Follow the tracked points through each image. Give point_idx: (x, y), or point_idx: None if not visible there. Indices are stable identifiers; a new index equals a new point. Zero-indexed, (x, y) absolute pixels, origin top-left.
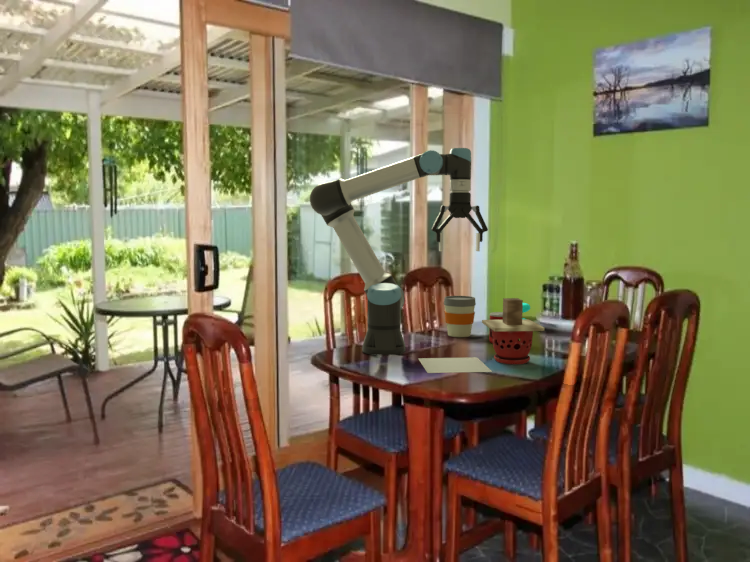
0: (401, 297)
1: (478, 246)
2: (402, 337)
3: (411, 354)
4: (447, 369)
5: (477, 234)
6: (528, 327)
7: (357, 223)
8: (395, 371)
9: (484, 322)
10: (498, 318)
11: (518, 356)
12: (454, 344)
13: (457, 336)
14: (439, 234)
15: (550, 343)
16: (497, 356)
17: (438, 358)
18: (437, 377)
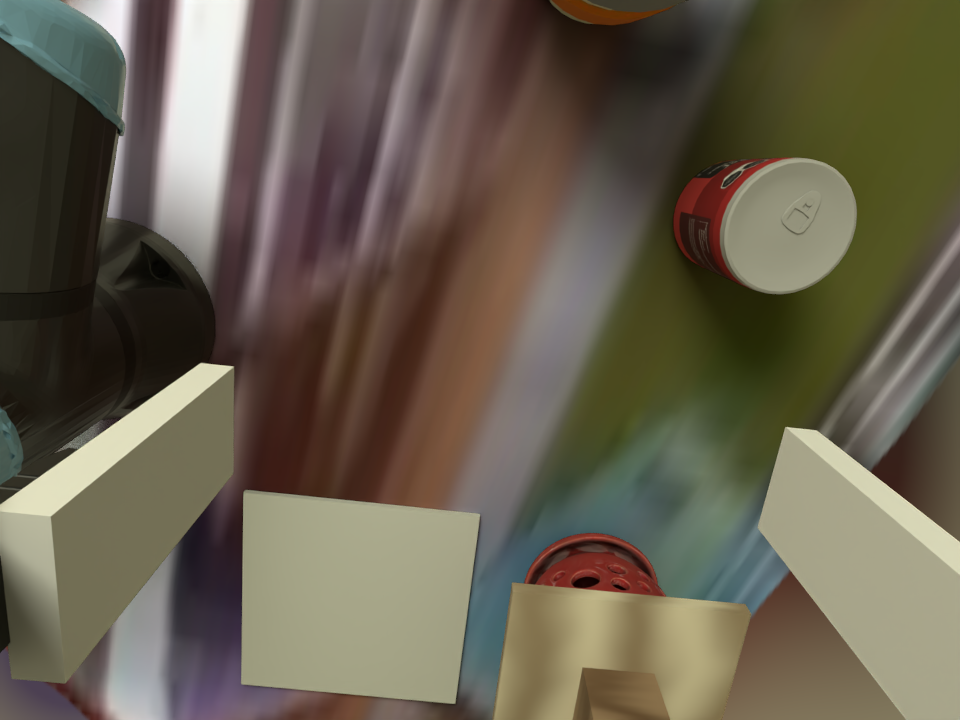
0: (52, 288)
1: (805, 571)
2: (169, 368)
3: (234, 393)
4: (316, 657)
5: (932, 706)
6: None
7: None
8: (141, 628)
9: (506, 629)
10: (741, 283)
11: None
12: (482, 220)
13: (567, 15)
14: (11, 621)
15: (948, 285)
16: (545, 564)
17: (324, 508)
18: (267, 712)
